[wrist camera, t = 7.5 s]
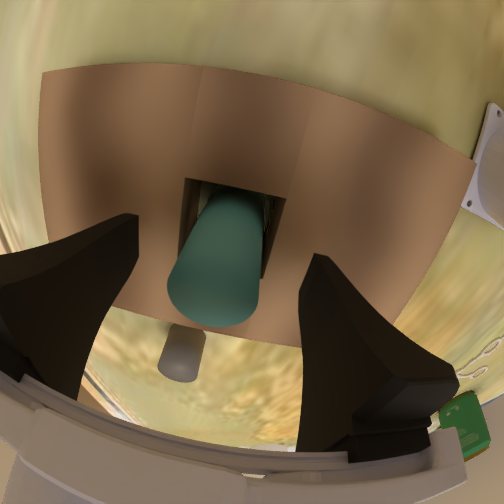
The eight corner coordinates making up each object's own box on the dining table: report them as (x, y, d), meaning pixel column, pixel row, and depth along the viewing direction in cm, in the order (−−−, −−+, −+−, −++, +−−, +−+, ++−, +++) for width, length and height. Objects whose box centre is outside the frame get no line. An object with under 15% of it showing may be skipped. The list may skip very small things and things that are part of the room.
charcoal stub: (207, 327, 22) (198, 366, 19) (204, 349, 24) (195, 385, 20) (170, 318, 22) (156, 355, 18) (170, 341, 23) (158, 376, 20)
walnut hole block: (438, 145, 13) (477, 163, 9) (358, 315, 20) (369, 355, 17) (85, 70, 11) (42, 72, 8) (86, 256, 19) (60, 288, 16)
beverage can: (442, 416, 35) (454, 467, 25) (432, 410, 32) (446, 469, 22) (477, 394, 31) (493, 446, 21) (471, 385, 29) (491, 445, 19)
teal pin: (275, 202, 16) (278, 295, 9) (240, 237, 17) (220, 338, 10) (233, 167, 15) (200, 237, 8) (199, 206, 16) (151, 294, 9)
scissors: (491, 370, 26) (380, 416, 31) (490, 366, 27) (379, 412, 31) (513, 328, 21) (382, 386, 26) (510, 324, 22) (381, 380, 26)
